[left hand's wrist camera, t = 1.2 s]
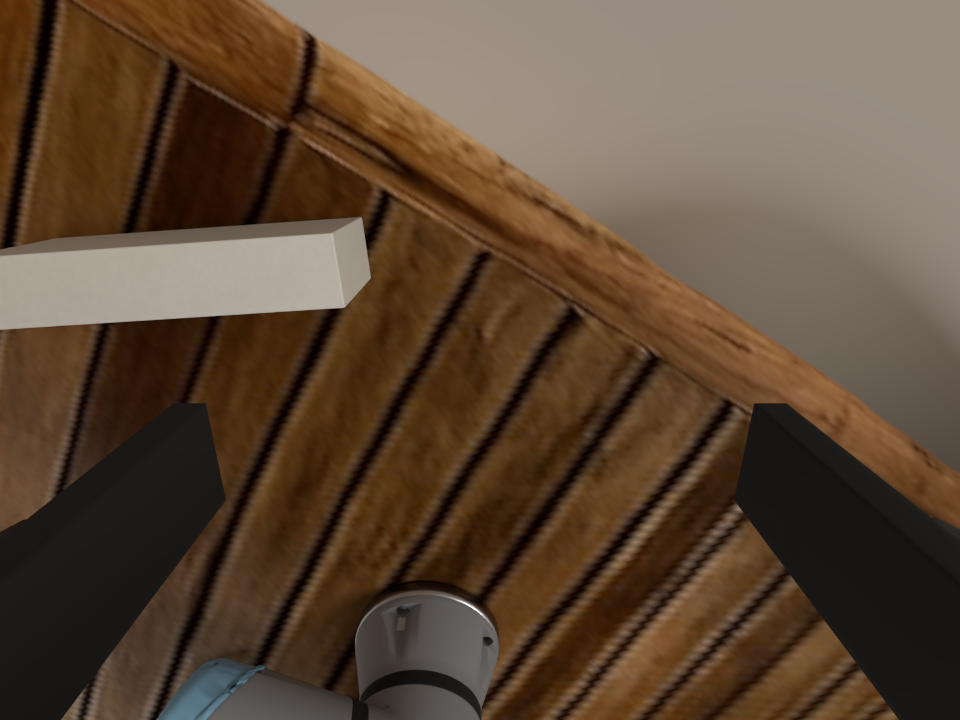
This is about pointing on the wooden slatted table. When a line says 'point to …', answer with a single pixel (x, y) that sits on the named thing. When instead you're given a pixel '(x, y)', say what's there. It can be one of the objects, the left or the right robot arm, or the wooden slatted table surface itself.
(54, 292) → the bar
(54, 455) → the wooden slatted table surface
